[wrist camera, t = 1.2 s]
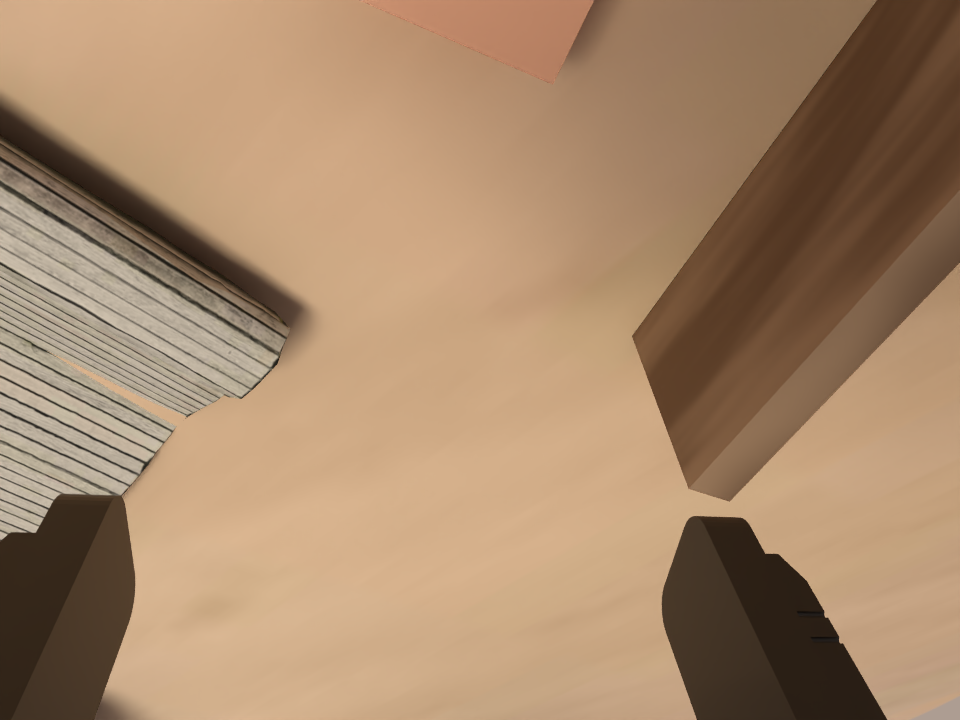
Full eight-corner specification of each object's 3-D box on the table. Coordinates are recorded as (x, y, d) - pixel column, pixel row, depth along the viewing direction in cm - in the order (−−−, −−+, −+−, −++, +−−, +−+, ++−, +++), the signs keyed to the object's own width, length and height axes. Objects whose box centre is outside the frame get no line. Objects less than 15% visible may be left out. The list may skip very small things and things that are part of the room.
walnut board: (632, 336, 39) (688, 488, 31) (1136, -355, 24) (1496, -403, 16) (665, 349, 39) (729, 501, 31) (1177, -316, 24) (1543, -343, 16)
